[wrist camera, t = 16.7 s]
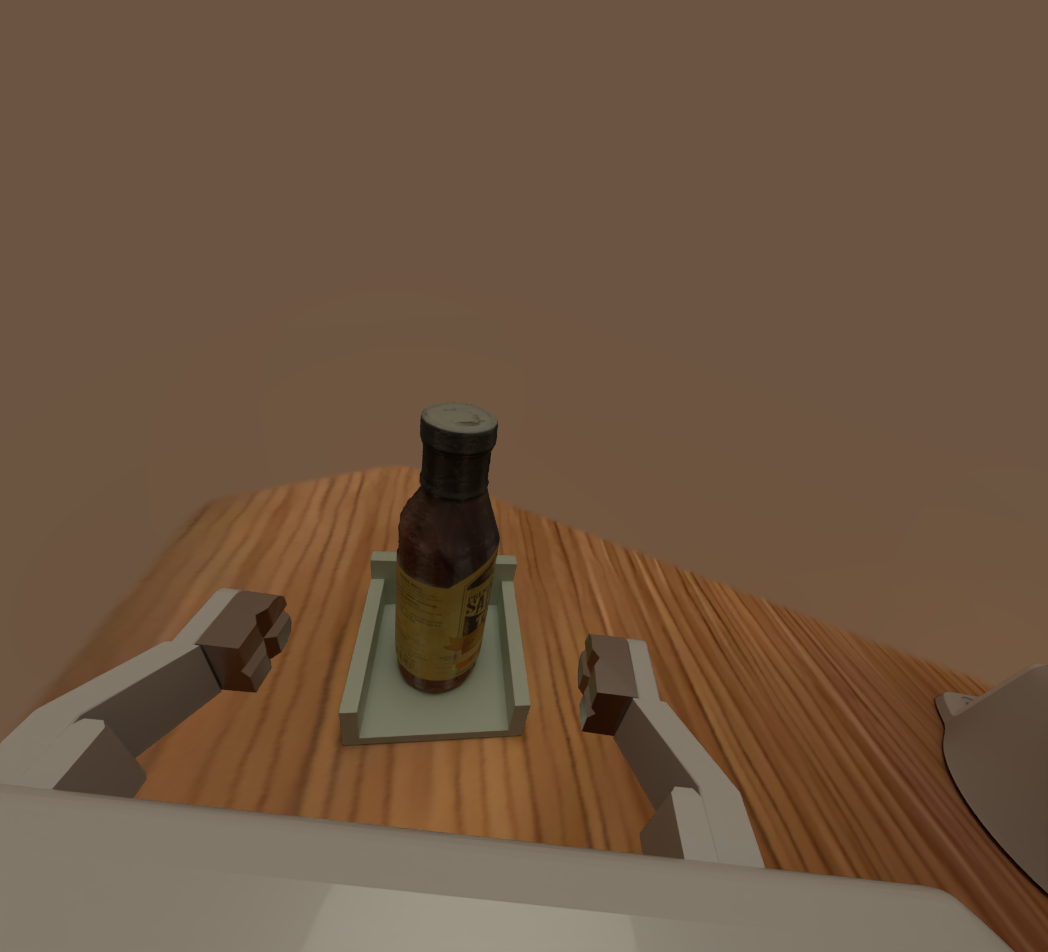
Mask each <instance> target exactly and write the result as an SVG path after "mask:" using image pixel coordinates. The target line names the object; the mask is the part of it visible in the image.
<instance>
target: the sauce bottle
mask: <svg viewBox="0 0 1048 952" xmlns="http://www.w3.org/2000/svg"><path fill="white" fill-rule="evenodd" d="M497 428H498V421H497V419H496V417H495V416H494V415H492V414H491V413H490V412H488V411H486V410H484V409H482V408H480V407H477V406H474V405H470V404H464V403H455V402H453V403H440V404H434V405H431V406H429V407H427V408H425V409H424V410H423V412H422V415H421V425H420V436H421V439H422V442H423V458H422V471H421V473H420V483H421V486H420V488H419V489H418V490H417V491H416V492H415V493H414V495H413V496H412V497H411V498H410V499H409V500H408V501H407V503H406V505H405V507H404V508H403V510H402V512H401V514H400V523H399V526H398V530H399V548H398V549H397V557H396V614H395V650H396V655H397V661H398V667H399V668H400V671H401V673H402V675H403V677H404V679H405V680H406V681H407V682H408V683H410V684H411V685H412V686H413V687H415V688H419V689H420V690H423V691H430V692H442V691H447V690H450V689H452V688H454V687H456V686H458V685H459V684H461V683H462V682H463V681H464V680H465V679H466V678H467V677H468V675H469V674H470V672H471V671H472V669H473V667H474V666H475V662H476V660H477V658H478V656H479V653H480V649H481V644H482V638H483V633H484V627H485V621H486V616H487V611H488V605H489V599H490V593H491V588H492V581H493V575H494V569H495V564H496V558H497V552H498V546H499V539H500V537H499V532H498V528H497V524H496V521H495V517H494V513H493V510H492V506H491V502H490V498H489V494H488V489H487V486H488V483H489V481H488V472H489V464H490V457H491V451H492V449H493V448H494V446H495V444H496V439H497Z"/></svg>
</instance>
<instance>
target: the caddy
mask: <svg viewBox="0 0 1048 952" xmlns="http://www.w3.org/2000/svg"><path fill="white" fill-rule="evenodd" d="M396 557H397V552H375V551H373V553H372V557H371V583H370V587H369V591H368V595H367V599H366V603H365V607H364V611H363V616H362V620H361V624H360V628H359V632H358V636H357V640H356V644H355V648H354V653H353V657H352V661H351V665H350V669H349V673H348V677H347V681H346V686H345V690H344V694H343V698H342V702H341V706H340V710H339V719H340V726H341V734H342V741H343V745H361V744H379V743H396V742H414V741H432V740H449V739H467V738H484V737H502V736H520V735H521V734H522V731H523V728H524V725H525V721H526V718H527V715H528V712H529V709H530V698H529V691H528V684H527V676H526V669H525V662H524V655H523V648H522V641H521V634H520V627H519V620H518V613H517V605H516V598H515V591H514V584H513V580H514V575H515V570H516V565H517V563H516V557H515V556H504V555H497V558H496V564H495V569H494V575H493V581H492V588H491V593H490V599H489V605H488V611H487V616H486V621H485V627H484V633H483V638H482V644H481V649H480V653H479V656H478V658H477V660H476V662H475V666H474V667H473V669H472V671H471V672H470V674H469V675H468V677H467V678H466V679H465V680H464V681H463V682H462V683H461V684H459V685H458V686H456V687H454V688H452V689H450V690H447V691H442V692H430V691H423V690H420V689H419V688H415V687H413V686H412V685H411V684H410V683H408V682H407V681H406V680H405V679H404V677H403V675H402V673H401V671H400V668H399V667H398V661H397V655H396V650H395V614H396Z"/></svg>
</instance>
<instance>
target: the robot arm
mask: <svg viewBox="0 0 1048 952" xmlns="http://www.w3.org/2000/svg"><path fill="white" fill-rule="evenodd" d="M286 605H287V603H286V601H285V598H284V596H278V595H271V594H264V593H257V592H250V591H244V590H237V589H229V588H222V589H220V590H218V591H217V592H215V593H214V594H213V595H212V597H211V598H210V599H209V600H208V601H207V602H206V603H205V604H204V605H203V607H202V608H201V609H200V610H199V611H198V612H197V613H196V614H195V616H194V617H193V618H192V619H191V620H190V621H189V622H188V623H187V625H186V626H185V627H184V628H183V629H182V630H181V631H180V632H179V633H178V635H177V636H176V637H175V638H174V639H173V640H172V641H171V642H169V641H164V642H162V643H161V644H159V645H157V646H155V647H153V648H151V649H149V650H147V651H146V652H144V653H142V654H140V655H138V656H136V657H134V658H132V659H130V660H129V661H127V662H125V663H123V664H121V665H119V666H117V667H115V668H114V669H112V670H110V671H108V672H106V673H104V674H102V675H100V676H98V677H97V678H95V679H93V680H91V681H89V682H87V683H85V684H83V685H82V686H80V687H78V688H76V689H74V690H72V691H70V692H68V693H66V694H65V695H63V696H61V697H59V698H57V699H55V700H53V701H51V702H50V703H48V704H46V705H44V706H42V707H40V708H38V709H36V710H35V711H34V712H33V713H32V714H31V715H29V716H28V717H27V718H26V719H25V720H24V721H23V722H22V723H21V724H20V725H19V726H18V727H17V728H16V729H15V730H14V731H13V732H12V733H11V734H10V735H9V736H8V737H6V738H5V739H4V740H3V741H2V742H1V743H0V952H1014V951H1013V950H1012V949H1011V948H1010V947H1009V946H1008V945H1007V944H1006V943H1005V942H1004V941H1003V940H1002V939H1001V938H1000V937H999V936H997V935H996V934H995V933H994V932H993V931H992V930H991V929H990V928H989V927H988V926H987V925H986V924H984V923H983V922H982V921H981V920H980V919H979V918H978V917H977V916H976V915H975V914H974V913H972V912H971V911H970V910H969V909H968V908H967V907H966V906H964V905H963V904H962V903H961V902H960V901H959V900H958V899H956V898H955V897H953V896H952V895H950V894H949V893H947V892H945V891H943V890H941V889H937V888H933V887H929V886H923V885H914V884H905V883H896V882H887V881H878V880H869V879H860V878H851V877H842V876H833V875H824V874H815V873H806V872H797V871H788V870H778V869H769V868H765V866H764V863H763V860H762V857H761V854H760V851H759V848H758V845H757V842H756V839H755V836H754V833H753V830H752V827H751V824H750V821H749V818H748V815H747V812H746V809H745V806H744V803H743V800H742V797H741V794H740V792H739V791H738V790H737V788H736V787H735V786H734V785H733V784H732V782H731V781H730V780H729V779H728V777H727V776H726V775H725V774H724V773H723V771H722V770H721V769H720V768H719V766H718V765H717V764H716V763H715V762H714V760H713V759H712V758H711V757H710V755H709V754H708V753H707V752H706V750H705V749H704V748H703V747H702V746H701V744H700V743H699V742H698V741H697V739H696V738H695V737H694V736H693V735H692V733H691V732H690V731H689V730H688V728H687V727H686V726H685V725H684V724H683V722H682V721H681V720H680V719H679V717H678V716H677V715H676V714H675V713H674V711H673V710H672V709H671V708H670V706H669V705H668V704H667V703H666V702H663V701H660V698H659V694H658V690H657V685H656V681H655V677H654V673H653V669H652V665H651V660H650V656H649V652H648V648H647V644H646V643H645V642H644V641H642V640H633V639H625V638H621V637H612V636H603V635H594V634H589V635H588V636H587V638H586V641H585V647H586V650H585V651H583V652H582V653H581V656H580V659H579V666H578V688H579V690H580V691H581V693H582V694H583V697H582V700H581V702H580V718H581V731H583V732H590V733H596V734H603V735H610V736H614V737H613V738H614V740H615V742H616V743H617V745H618V747H619V749H620V750H621V752H622V754H623V755H624V757H625V759H626V761H627V762H628V764H629V766H630V768H631V769H632V771H633V773H634V775H635V776H636V778H637V780H638V782H639V783H640V785H641V787H642V788H643V790H644V792H645V794H646V795H647V797H648V799H649V801H650V802H651V804H652V806H653V808H654V809H655V811H656V812H655V814H654V815H653V816H652V818H651V819H650V820H649V822H648V823H647V824H646V826H645V827H644V828H643V830H642V831H641V832H640V840H641V847H642V854H634V853H625V852H616V851H607V850H598V849H589V848H580V847H571V846H561V845H552V844H543V843H534V842H525V841H516V840H507V839H498V838H489V837H480V836H471V835H462V834H453V833H444V832H435V831H426V830H417V829H408V828H399V827H390V826H381V825H372V824H363V823H354V822H344V821H335V820H326V819H317V818H308V817H299V816H290V815H281V814H272V813H263V812H254V811H245V810H236V809H227V808H218V807H209V806H200V805H191V804H181V803H172V802H163V801H154V800H145V799H136V798H134V796H135V795H136V794H137V792H138V791H139V789H140V788H141V786H142V785H143V783H144V782H145V781H146V779H147V775H146V771H145V770H144V769H143V768H142V766H141V765H140V764H139V763H138V762H137V760H136V759H135V758H136V757H137V756H139V755H140V754H141V753H143V752H144V751H145V750H146V749H148V748H149V747H150V746H152V745H153V744H154V743H156V742H157V741H158V740H159V739H161V738H162V737H163V736H165V735H166V734H167V733H169V732H170V731H171V730H172V729H174V728H175V727H176V726H178V725H179V724H180V723H181V722H183V721H184V720H185V719H187V718H188V717H189V716H191V715H192V714H193V713H194V712H196V711H197V710H198V709H200V708H201V707H202V706H204V705H205V704H206V703H207V702H209V701H210V700H211V699H213V698H214V697H215V696H216V695H218V694H219V693H220V692H221V690H232V691H243V692H255V693H256V692H257V691H258V689H259V687H260V686H261V684H262V683H263V681H264V679H265V678H266V676H267V674H268V673H269V671H270V670H271V660H270V659H271V658H273V657H274V656H276V655H277V654H279V653H281V652H282V650H283V648H284V647H285V645H286V643H287V641H288V638H289V635H290V632H291V623H292V622H291V618H290V616H289V615H288V614H287V613H286V612H285V611H284V608H285V607H286ZM935 702H936V705H937V708H938V710H939V713H940V715H941V717H942V719H943V721H944V724H945V734H944V741H943V748H944V754H945V758H946V762H947V765H948V767H949V770H950V772H951V775H952V777H953V779H954V781H955V783H956V785H957V786H958V788H959V790H960V792H961V793H962V795H963V797H964V798H965V800H966V801H967V803H968V804H969V806H970V807H971V809H972V810H973V812H974V813H975V814H976V816H977V817H978V818H979V820H980V821H981V822H982V824H983V825H984V826H985V827H986V829H987V830H988V831H989V832H990V834H991V835H992V836H993V837H994V838H995V840H996V841H997V842H998V843H999V844H1000V845H1001V847H1002V848H1003V849H1004V850H1005V851H1006V852H1007V853H1008V854H1009V855H1010V856H1011V858H1012V859H1013V860H1014V861H1015V862H1016V863H1017V864H1018V865H1019V866H1020V867H1021V868H1022V869H1023V870H1024V871H1025V872H1026V873H1027V874H1028V875H1029V876H1030V877H1031V878H1032V879H1033V880H1034V881H1035V882H1036V883H1037V884H1038V885H1039V886H1040V887H1041V888H1043V889H1044V890H1045V891H1046V892H1047V893H1048V665H1044V664H1041V663H1036V664H1032V665H1030V666H1028V667H1026V668H1024V669H1023V670H1021V671H1019V672H1018V673H1016V674H1015V675H1013V676H1011V677H1010V678H1008V679H1007V680H1005V681H1003V682H1002V683H1000V684H999V685H997V686H995V687H994V688H992V689H991V690H989V691H988V692H986V693H984V694H983V695H981V696H980V697H979V696H973V695H967V694H961V693H955V692H944V693H943V694H941V695H939V696H937V697H936V699H935Z"/></svg>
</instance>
